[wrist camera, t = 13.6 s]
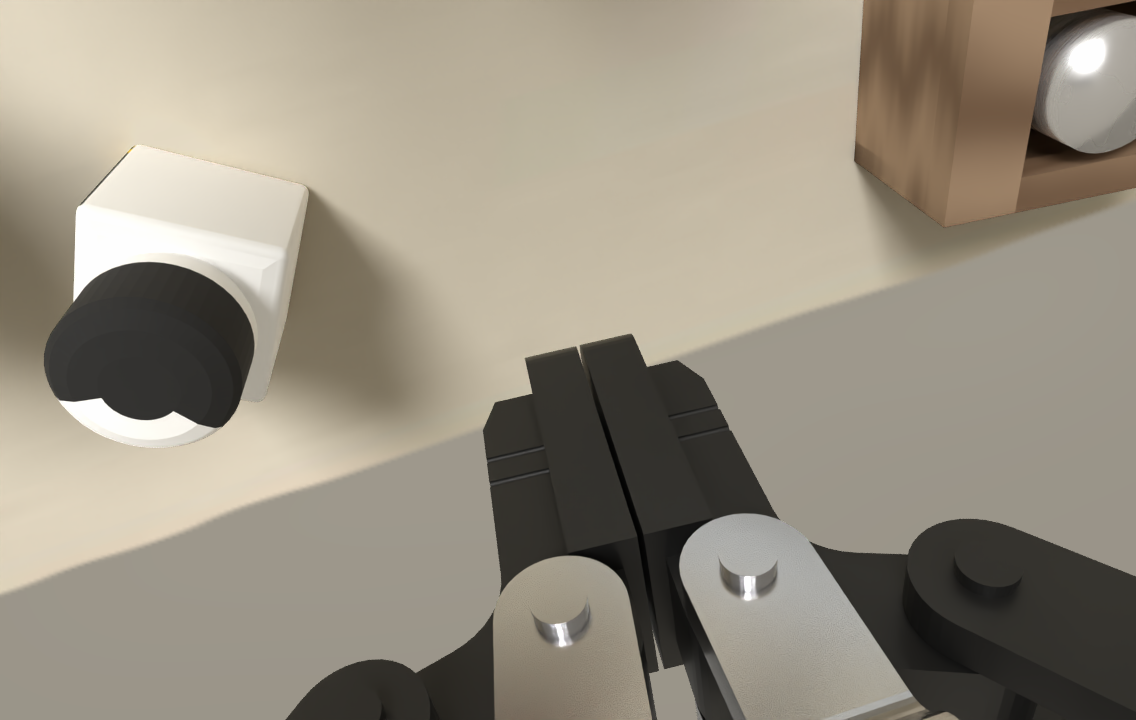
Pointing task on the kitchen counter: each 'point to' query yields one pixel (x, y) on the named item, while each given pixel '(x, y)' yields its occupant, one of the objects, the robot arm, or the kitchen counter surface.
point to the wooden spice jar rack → (971, 109)
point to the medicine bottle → (175, 297)
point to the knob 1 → (1088, 81)
